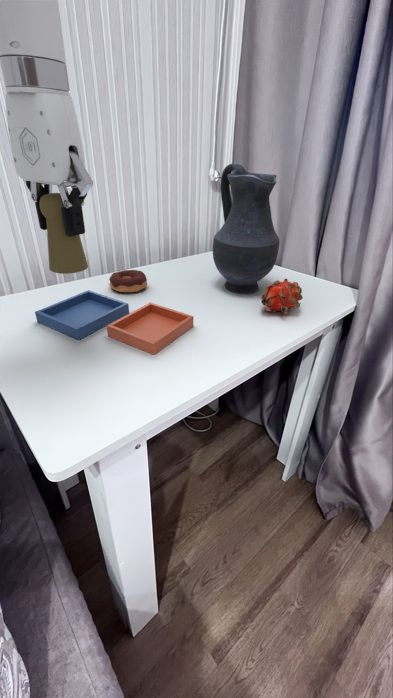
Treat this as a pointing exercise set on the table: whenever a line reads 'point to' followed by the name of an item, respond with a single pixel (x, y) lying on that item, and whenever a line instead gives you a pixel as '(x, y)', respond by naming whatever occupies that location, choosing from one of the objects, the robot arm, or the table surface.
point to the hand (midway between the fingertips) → (62, 230)
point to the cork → (61, 238)
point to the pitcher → (245, 230)
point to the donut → (128, 281)
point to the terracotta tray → (150, 327)
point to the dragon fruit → (282, 296)
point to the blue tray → (82, 314)
